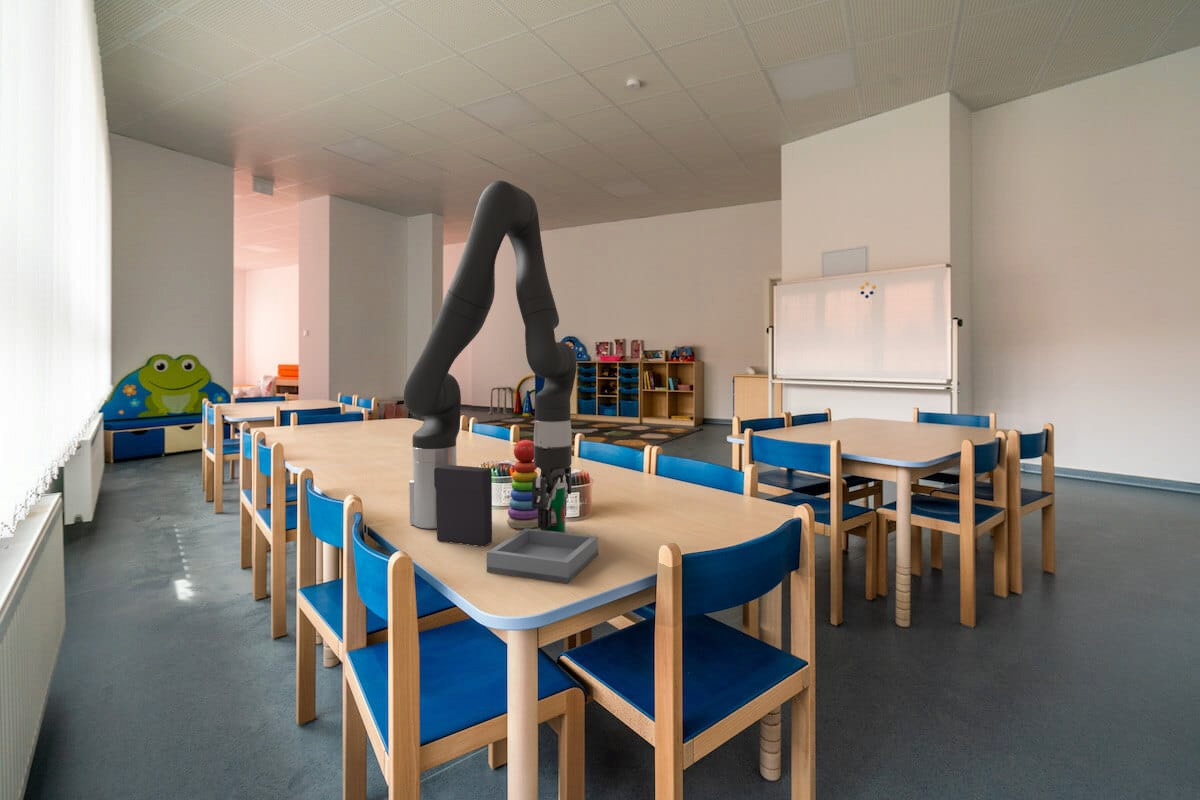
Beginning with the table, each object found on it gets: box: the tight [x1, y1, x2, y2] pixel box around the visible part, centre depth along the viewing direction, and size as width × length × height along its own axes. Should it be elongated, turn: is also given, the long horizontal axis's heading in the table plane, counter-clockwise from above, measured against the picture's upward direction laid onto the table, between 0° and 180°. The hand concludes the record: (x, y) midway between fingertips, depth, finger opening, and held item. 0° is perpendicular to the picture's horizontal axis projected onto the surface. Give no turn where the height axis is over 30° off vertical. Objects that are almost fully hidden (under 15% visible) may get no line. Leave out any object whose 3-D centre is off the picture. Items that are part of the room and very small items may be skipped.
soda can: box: [539, 481, 566, 533], centre depth 118 cm, size 5×5×12 cm
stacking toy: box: [506, 439, 539, 530], centre depth 129 cm, size 8×8×19 cm
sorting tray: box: [486, 528, 599, 584], centre depth 105 cm, size 15×15×4 cm
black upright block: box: [434, 464, 493, 547], centre depth 117 cm, size 11×4×15 cm, turn 71°
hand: (552, 522), depth 118 cm, fingers open, 8 cm apart
